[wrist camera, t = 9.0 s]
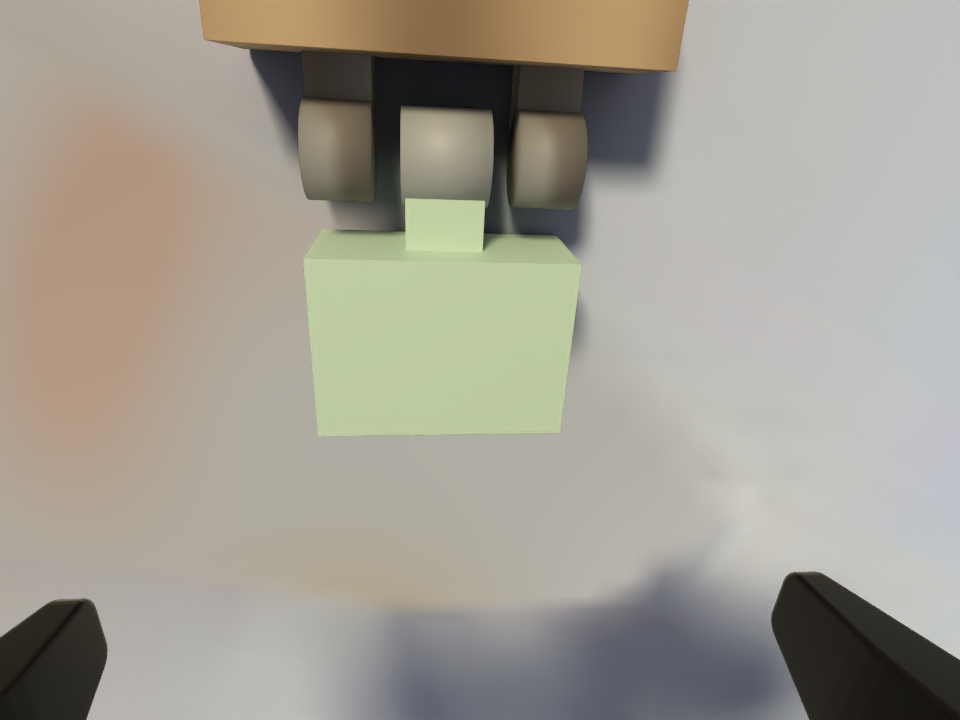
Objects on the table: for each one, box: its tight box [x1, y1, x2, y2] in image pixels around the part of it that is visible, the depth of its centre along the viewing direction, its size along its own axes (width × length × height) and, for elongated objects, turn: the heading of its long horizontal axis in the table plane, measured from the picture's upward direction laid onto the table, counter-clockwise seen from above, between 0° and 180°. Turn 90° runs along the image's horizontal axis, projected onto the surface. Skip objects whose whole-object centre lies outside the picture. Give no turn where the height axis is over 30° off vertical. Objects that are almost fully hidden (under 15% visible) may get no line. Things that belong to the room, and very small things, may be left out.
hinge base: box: [199, 0, 689, 210], centre depth 14 cm, size 10×6×3 cm, turn 87°
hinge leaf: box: [303, 105, 582, 436], centre depth 16 cm, size 7×8×3 cm
